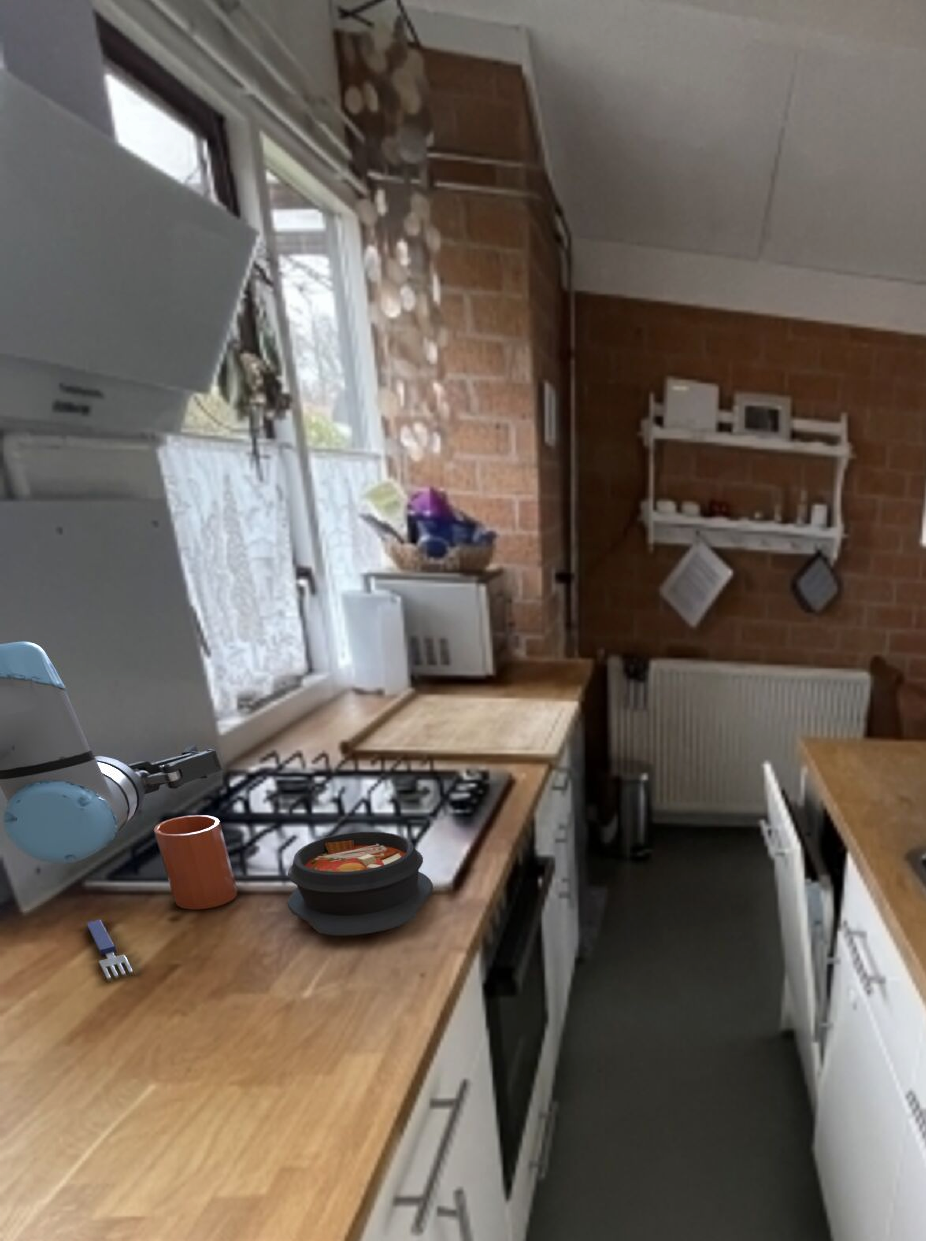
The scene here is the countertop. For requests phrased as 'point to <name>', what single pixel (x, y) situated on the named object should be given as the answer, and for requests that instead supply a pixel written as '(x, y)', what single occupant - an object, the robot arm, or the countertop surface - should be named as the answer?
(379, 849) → the casserole
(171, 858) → the tumbler
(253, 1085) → the countertop surface
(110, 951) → the fork
